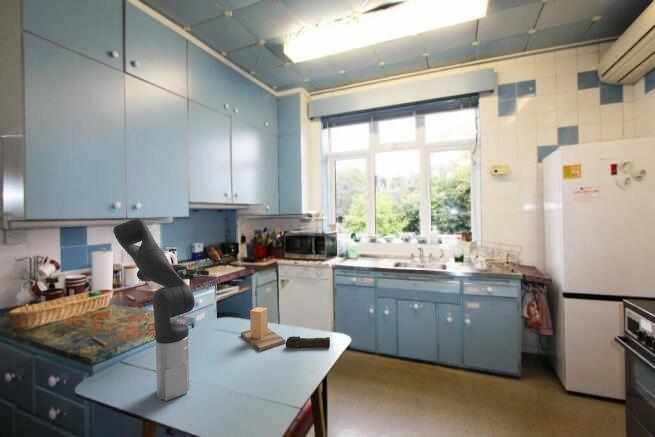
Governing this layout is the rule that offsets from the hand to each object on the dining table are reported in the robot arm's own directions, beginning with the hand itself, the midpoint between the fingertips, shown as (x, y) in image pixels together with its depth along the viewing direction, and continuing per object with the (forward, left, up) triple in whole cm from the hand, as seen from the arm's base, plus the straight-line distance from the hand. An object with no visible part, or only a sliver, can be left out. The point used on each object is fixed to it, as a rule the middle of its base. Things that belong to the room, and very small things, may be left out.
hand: (201, 275), depth 124 cm
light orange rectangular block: (-13, -21, -28) cm, 38 cm away
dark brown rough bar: (-34, -33, -30) cm, 57 cm away
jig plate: (-14, -22, -30) cm, 40 cm away
